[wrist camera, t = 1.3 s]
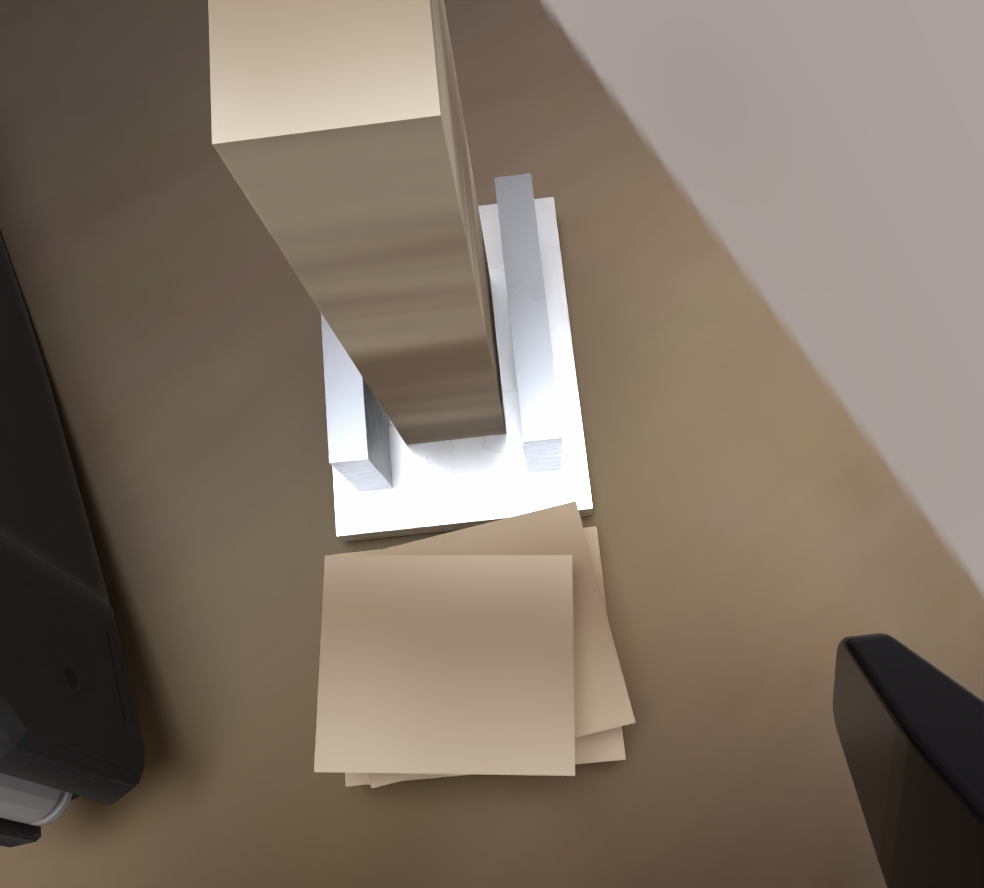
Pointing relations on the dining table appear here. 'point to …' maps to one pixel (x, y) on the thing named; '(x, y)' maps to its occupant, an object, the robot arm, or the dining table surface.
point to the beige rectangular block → (367, 192)
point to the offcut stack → (470, 655)
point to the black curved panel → (51, 611)
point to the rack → (526, 398)
